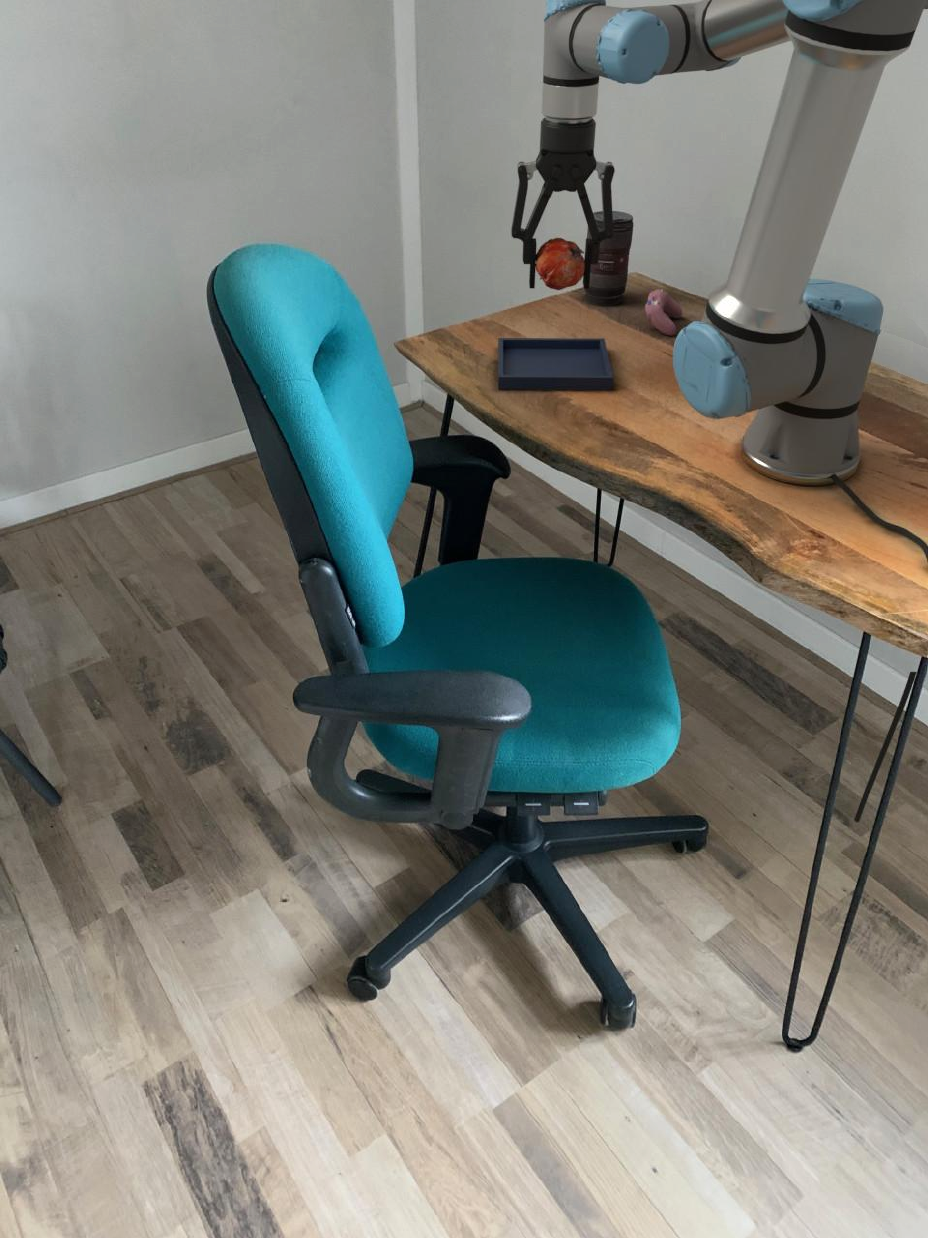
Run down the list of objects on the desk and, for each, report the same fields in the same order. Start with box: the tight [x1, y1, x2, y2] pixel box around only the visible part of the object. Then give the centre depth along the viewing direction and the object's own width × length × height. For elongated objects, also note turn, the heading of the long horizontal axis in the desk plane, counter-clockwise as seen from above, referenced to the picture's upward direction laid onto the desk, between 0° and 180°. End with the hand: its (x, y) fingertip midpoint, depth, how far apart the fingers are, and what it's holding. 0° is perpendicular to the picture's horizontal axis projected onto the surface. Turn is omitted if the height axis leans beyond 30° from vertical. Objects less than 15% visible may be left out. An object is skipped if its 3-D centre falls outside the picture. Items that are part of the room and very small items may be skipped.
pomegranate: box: [535, 237, 585, 291], centre depth 142 cm, size 7×7×10 cm
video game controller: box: [644, 288, 683, 337], centre depth 166 cm, size 10×5×7 cm, turn 162°
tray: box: [497, 337, 614, 391], centre depth 152 cm, size 16×18×2 cm
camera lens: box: [583, 210, 635, 307], centre depth 173 cm, size 8×8×15 cm
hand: (558, 285), depth 144 cm, fingers closed on pomegranate, 7 cm apart
